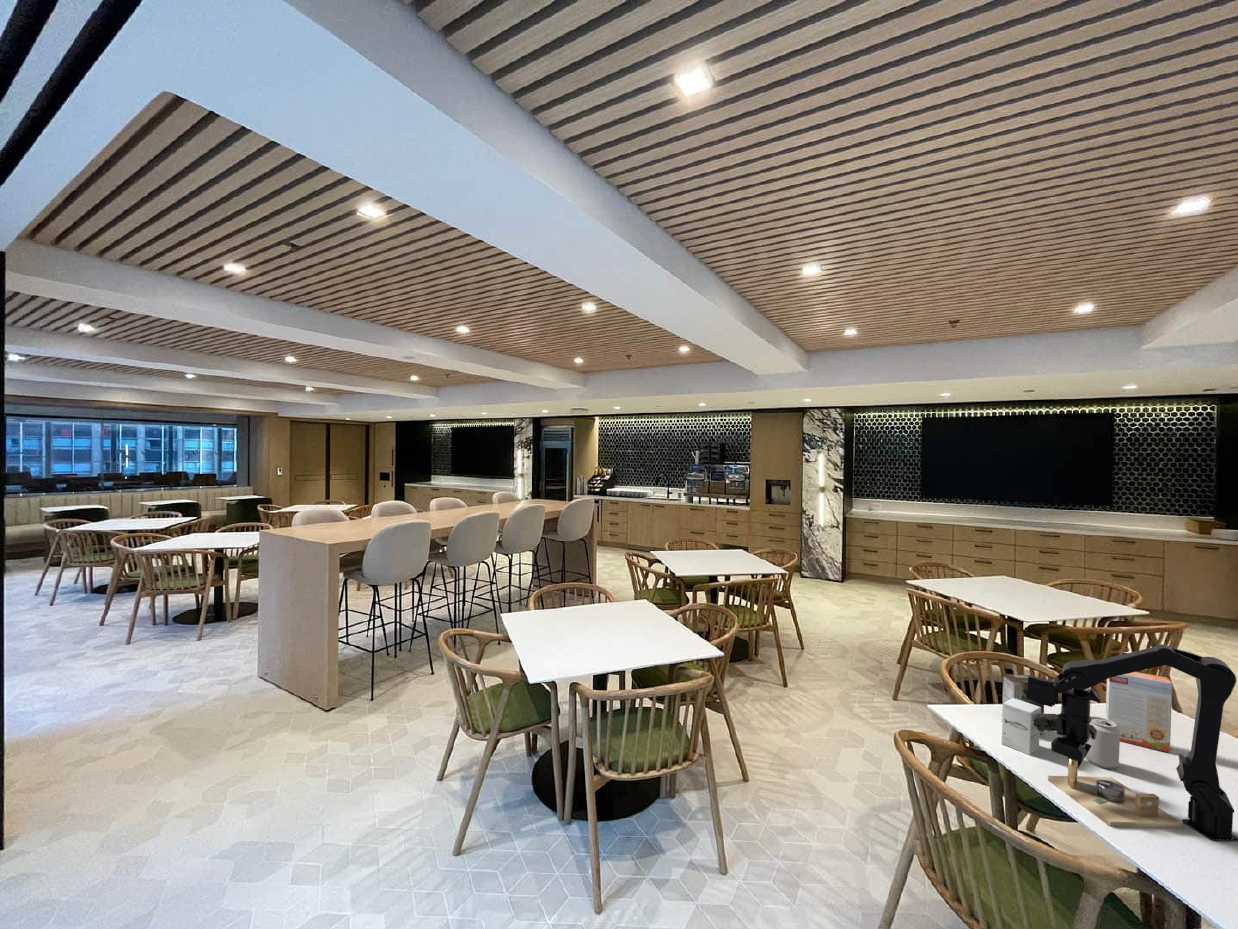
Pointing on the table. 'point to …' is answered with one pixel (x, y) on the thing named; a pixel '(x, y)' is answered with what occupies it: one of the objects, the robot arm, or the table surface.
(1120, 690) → the cracker box
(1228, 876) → the table surface
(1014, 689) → the coffee box
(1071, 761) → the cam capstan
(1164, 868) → the table surface
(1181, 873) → the table surface
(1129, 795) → the stand
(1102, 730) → the can
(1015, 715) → the supplement box
